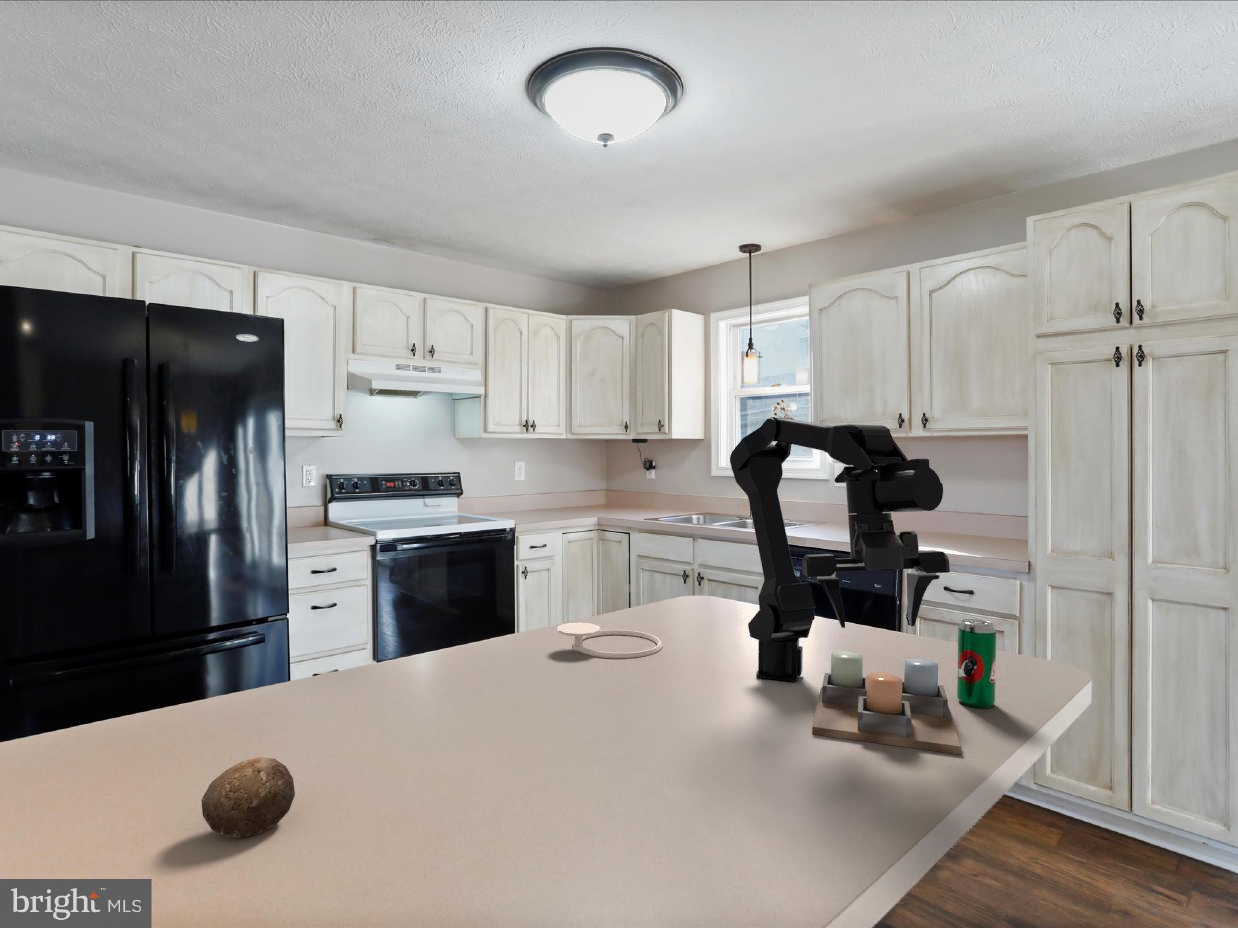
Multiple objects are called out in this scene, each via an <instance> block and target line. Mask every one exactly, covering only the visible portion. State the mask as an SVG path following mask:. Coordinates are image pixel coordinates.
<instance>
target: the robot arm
mask: <svg viewBox="0 0 1238 928" xmlns="http://www.w3.org/2000/svg"><path fill="white" fill-rule="evenodd" d="M773 442H775V444H773ZM792 445H795V446H799V447H805V448H808V449H814V450H818V451H822V452H824V453H827V454H828V456H829V457H830V458H831V459H832V460H834V461H837V462H839V463H841V464H843V465H845V466H844V467H843V469H842V471H840V473H838V474H837V476H836V477H835V478H834V482H835V483H836V484H845V487H846V488H845V489H846V504H847V514H848V515H847V517H848V520H847V521H848V531H849V533H848V534H849V546H850V547H849V549H850V557H848V558H847V557H845V558H844V557H843V558H836V557H835V555H834V554H831V553H823V554H822V553H820V554H816V553H815V554H805V555H804V556H803V558H802V559H801V567H802V568H801V569H802V575H804V576H805V577H808V578H812V579H811V580H812V581H814V582H815V583H817V584H821V586H822V588H823V590H824V591H825V593H826V594H827V597H828V599H829V601H830V603H831V606H832V609H833V610H834V613H835V615H836V618H837V620H838V623H839V625H840V627H841V628H842V629H845V628H846V616H845V611H844V606H843V605H844V604H843V600H842V595H841V582H840V578H839V577H836V574H837V572H854V571H855V572H856V571H859V572H861V571H886V570H887V571H888V570H894V571H898V570H910V572H906V592H907V593H906V597H907V603H906V604H907V617H908V623H909V626H910V627H915V626H916V622H917V618H918V615H919V611H920V608H921V606H922V605H921V604H922V601H923V598H924V595H925V593H926V591H927V589H928V587H929V586H930V584H931V583H932V582H933V581H934V580H940V577H941V575H939V574H943V573H944V574H946V573H951V569H950V568H951V567H950V559H949V556H948V555H947V554H946V553H945V551H940V550H933V549H932V550H919V549H920V548H919V537H918V534H917V532H916V531H915V530H911V531H910V530H908V531H907V530H906V531H902V530H901V531H900V532H899V534H897V533H896V531H895V525H894V520H893V519H892V513H911V512H913V513H914V512H915V513H916V512H931V511H934V510H936V509H937V508H938V507H939V506H940V504H941V503H942V500H943V498H944V497H943V496H944V486H943V483H942V482H941V479H940V477H939V475H938V473H937V472H936V471H935V470H933V469H932V468H931V467H930V459H929V458H911V459H908V457H907V456H906V454H905V453H904V452H903V450H902V449H901V448H900V446H899V445H898V444H897V443H896V442H895V440H894V438H893V435H892V433H891V430H890V428H889V427H887V426H885V425H883V424H880V425H879V424H852V423H851V424H849V423H848V424H839V425H836V424H835V425H829V424H825V423H824V424H823V423H816V422H812V421H804V420H798V419H794V418H793V417H789V416H788V417H786V416H784V417H783V416H771V417H770V418H766V420H764V422H763V423H762V424H761V426H760V427H758V428H757V429H755V430H754V431H752V432H750V433H749V434H747V435H746V436H743V438H741V440H740V441H739V442H738V444H737V445H735V447H734V449H733V450H732V451H731V453H730V455H729V463H730V467H731V471H732V474H733V477H734V480H735V483H736V484H737V485H738V486H739V487H740V489H742V491H743V492H744V493H745V495H747V498H748V503H749V507H750V508H749V509H750V513H751V518H752V523H753V527H754V528H753V529H754V533H755V538H756V544H757V549H758V554H759V558H760V564H761V567H762V568H761V569H762V572H763V582H762V586H761V588H760V592H759V593H758V594H759V595H758V607H759V608H758V609H759V610H758V611H757V612H756V614H755V615H754V616H753V617H752V618H751V620H750V621H749V622H748V624H747V627H748V632H749V637H750V638H751V639H755V640H757V641H758V652H757V653H758V654H757V655H758V661H757V662H758V664H757V672H756V673H755V677H756V678H759V679H768V680H774V681H777V680H778V681H787V682H793V683H794V682H795V683H796V682H797V681H798V679H799V677H800V676H801V675H802V672H803V650H804V649H803V646H802V645H801V646H800V639H807V638H809V635H810V633H811V629H812V625H813V622H814V620H815V617H816V616H815V615H816V613H815V612H816V611H815V609H816V607H817V605H816V604H815V601H814V598H813V592H812V591H813V590H812V586H811V585H810V582H802V581H801V580H800V578H798V576H797V574H796V572H795V569H794V564H793V559H792V556H791V551H790V545H789V540H788V536H787V532H786V528H785V527H786V526H785V521H784V516H783V512H782V507H781V502H780V499H779V494H778V493H779V492H778V489H779V487H780V483H781V481H782V479H783V475H784V473H783V472H784V471H783V463H785V462H786V460H787V459H788V458H789V457H790V456H791V452H792ZM861 561H862V563H860V562H861Z"/></svg>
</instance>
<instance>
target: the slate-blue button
mask: <svg viewBox="0 0 1238 928" xmlns="http://www.w3.org/2000/svg"><path fill="white" fill-rule="evenodd" d="M903 664H904V665H903V667H904V668H903V669H904V670H903V671H904V672H903V681H904V690H905V691H906V692H907V693H910V694H913V695H920V696H935V695H937V694H938V685H939V664H938V662H936V661H933V660H929V659H924V658H918V657H917V658H907V659H905V660H904V663H903Z"/></svg>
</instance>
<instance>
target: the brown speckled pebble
mask: <svg viewBox="0 0 1238 928" xmlns="http://www.w3.org/2000/svg"><path fill="white" fill-rule="evenodd" d="M294 783H295V781H294V777H293V776H292V774H291V772H290V771H289V769H288V767H287V766H286V765H284V764H283V763H282V762H280V761H279V760H277V759H276V758H274V757H273V758H272V757H265V756H264V757H262V756H258V757H254V758H250V759H246V760H242V761H240V762H238V763H236V764H235V765H233V766H231V767H229V768H228V769H226V770H224V771H223V772H222V773H221V774H220V775H219V776H217V777H216V778H215V779H213V780H212V781H211V782H210V784H209V785H208V787H207V789H206V791H205V792H204V795H203V796H202V799H201V800H200V801H201V810H202V811H201V812H202V817H203V818H204V820H205V822H206V823H207V824H208V826H209V828H210V829H211V830H212V831H214V832H216V833H217V834H220V835H221V836H224V837H227V838H242V839H243V838H247V837H250V836H255V835H257V834H261V833H264V832H265V831H267V830H269V829H272V828H273V827H275V826H276V825H277V824H279V823H280V821H281V820H282V819H283V818H284V817H285V816H286V815H287V814H288V813H289V811H290V809H291V806H292V805H293V804H292V803H293V801H294V799H295V797H296V795H295V794H296V791H295V784H294Z"/></svg>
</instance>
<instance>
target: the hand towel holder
mask: <svg viewBox="0 0 1238 928" xmlns="http://www.w3.org/2000/svg"><path fill="white" fill-rule="evenodd" d="M556 627H557V629H556V630H557V631H558V633H559V634H561V635H564V636H568V637H574V639H573V642H572V650H573V651H574V652H579V653H581V654H584V655H587V656H590V657H596V658H604V659H605V658H606V659H632V658H633V659H634V658H641V657H646V656H650V655H653V654H656V653H657V652H660V650H661V649H662V648H663V642H662V641H661V639H659V638H658V637H657V636H656V635H653V634H650V633H647V632H642V631H636V630H628V629H627V630H626V629H602V630H601V627H600V625H597V624H594V623H590V622H570V623H563V624H560V625H558V626H556ZM603 636H628V637H638V638H643V639H645V640H646V639H647V640H650V641H652V642H654V643H655V644H656V646H655V647H651V648H649V649H646V650H640V651H635V652H634V651H633V652H632V651H631V652H609V651H600V650H595V649H590V648H586V647H584V645H583V641H584V640H586V639H590V638H596V637H603Z"/></svg>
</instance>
